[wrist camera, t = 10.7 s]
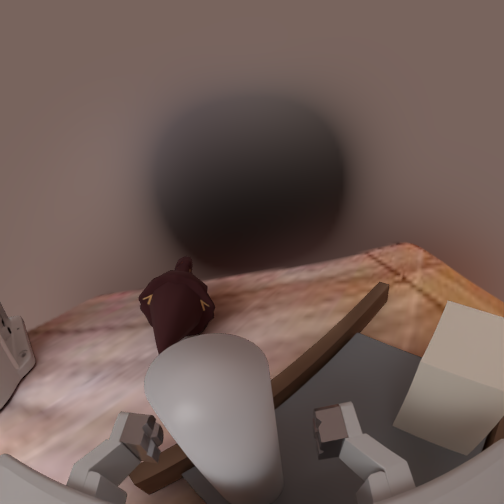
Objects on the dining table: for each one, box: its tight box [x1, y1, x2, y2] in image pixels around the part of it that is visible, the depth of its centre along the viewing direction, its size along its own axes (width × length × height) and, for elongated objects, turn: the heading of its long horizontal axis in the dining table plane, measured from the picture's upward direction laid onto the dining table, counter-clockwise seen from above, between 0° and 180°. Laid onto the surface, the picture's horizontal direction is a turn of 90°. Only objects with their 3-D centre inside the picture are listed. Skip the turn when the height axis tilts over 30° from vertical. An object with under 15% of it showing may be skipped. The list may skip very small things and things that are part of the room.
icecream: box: [139, 257, 215, 354], centre depth 25 cm, size 7×7×15 cm
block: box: [392, 301, 504, 456], centre depth 11 cm, size 6×6×6 cm
